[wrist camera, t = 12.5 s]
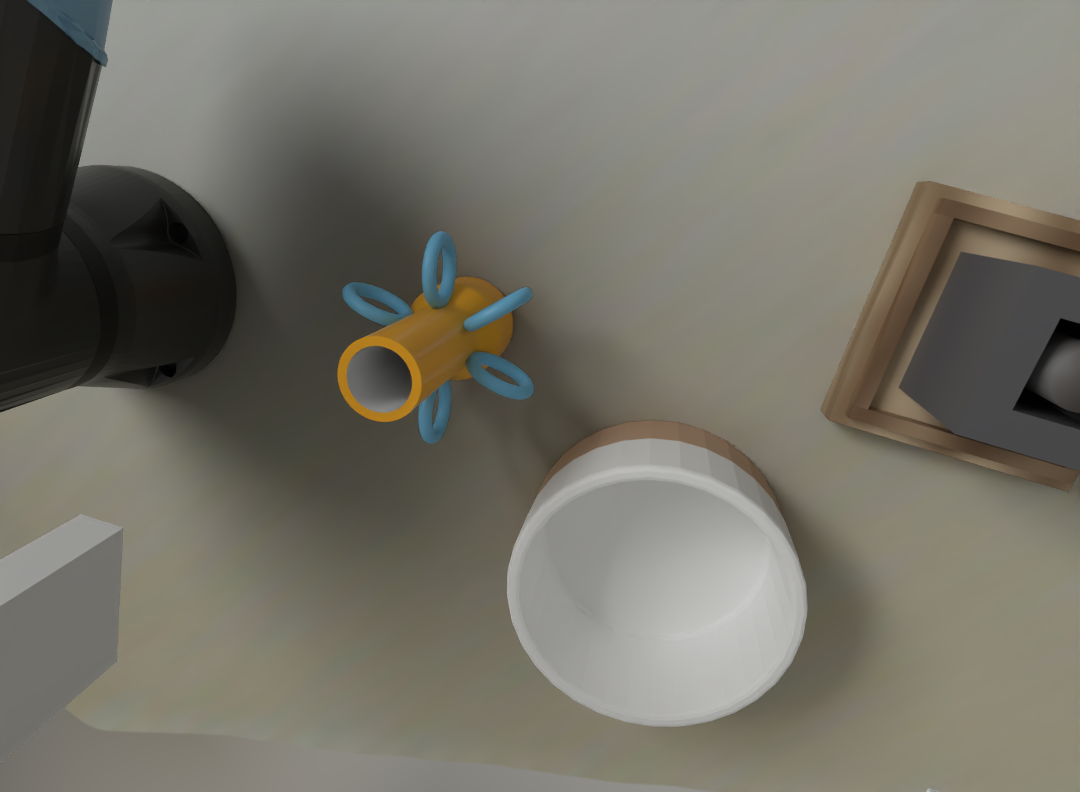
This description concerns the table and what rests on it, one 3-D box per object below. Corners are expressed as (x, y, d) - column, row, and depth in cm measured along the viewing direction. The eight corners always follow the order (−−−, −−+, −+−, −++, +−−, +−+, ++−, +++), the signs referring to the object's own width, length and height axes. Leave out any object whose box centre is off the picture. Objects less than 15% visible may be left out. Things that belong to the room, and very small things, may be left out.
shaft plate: (820, 409, 42) (865, 471, 32) (917, 182, 37) (1001, 177, 28) (1049, 478, 41) (1165, 563, 31) (1177, 250, 36) (1358, 270, 27)
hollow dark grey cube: (898, 387, 39) (957, 436, 31) (960, 251, 36) (1042, 266, 28) (1039, 428, 38) (1136, 489, 30) (1113, 292, 36) (1240, 320, 28)
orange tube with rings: (510, 202, 42) (430, 205, 28) (588, 348, 43) (550, 422, 29) (356, 293, 45) (215, 337, 31) (434, 425, 47) (334, 524, 33)
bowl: (789, 418, 43) (817, 468, 35) (778, 650, 47) (801, 741, 39) (524, 418, 46) (494, 464, 38) (538, 635, 51) (515, 716, 43)
